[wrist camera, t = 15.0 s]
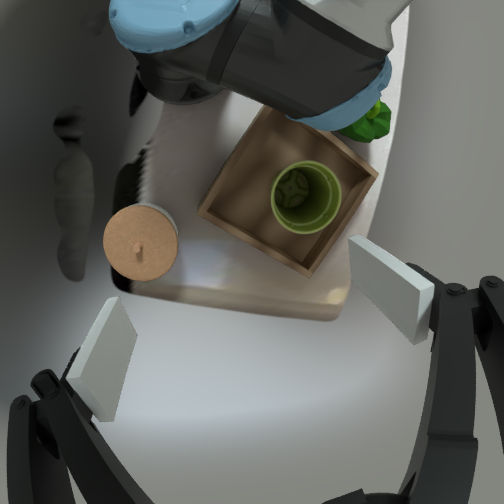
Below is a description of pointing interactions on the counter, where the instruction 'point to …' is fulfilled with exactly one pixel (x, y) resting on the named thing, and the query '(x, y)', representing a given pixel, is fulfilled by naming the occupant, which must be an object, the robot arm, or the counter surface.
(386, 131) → the bell pepper
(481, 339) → the robot arm
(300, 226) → the plant pot
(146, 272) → the lidded jar
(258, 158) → the walnut tray
